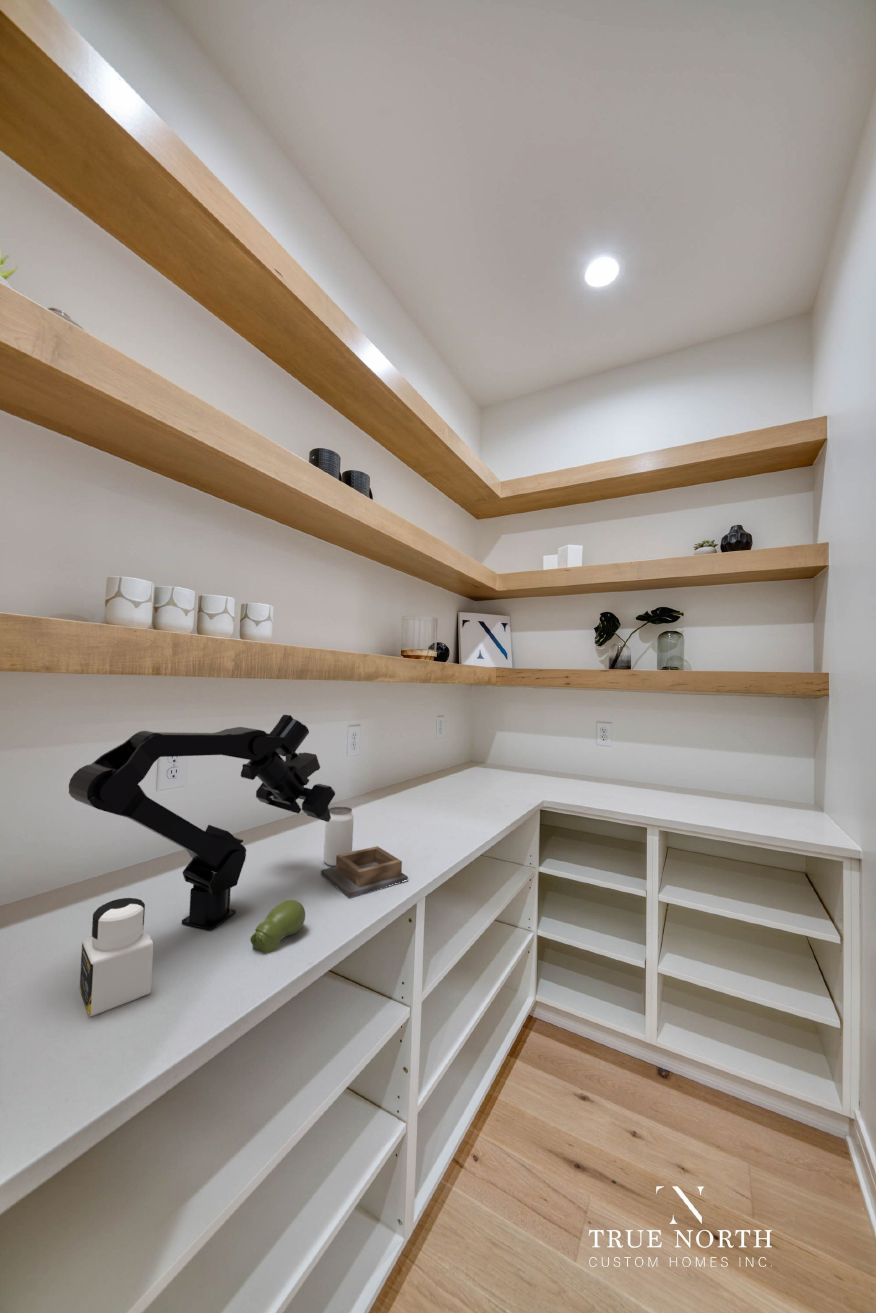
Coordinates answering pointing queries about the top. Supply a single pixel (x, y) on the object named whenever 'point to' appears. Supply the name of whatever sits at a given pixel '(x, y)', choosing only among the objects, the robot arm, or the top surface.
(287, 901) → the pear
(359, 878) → the socket holder
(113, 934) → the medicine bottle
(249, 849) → the top surface
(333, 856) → the can
